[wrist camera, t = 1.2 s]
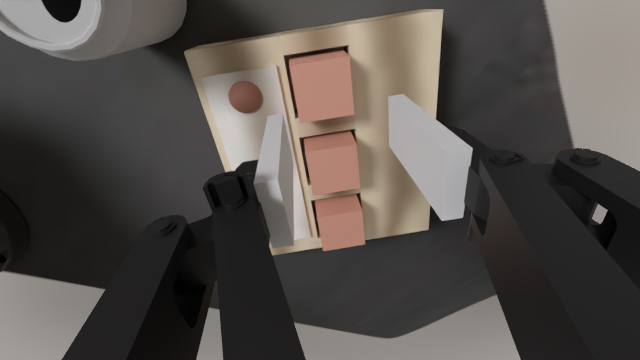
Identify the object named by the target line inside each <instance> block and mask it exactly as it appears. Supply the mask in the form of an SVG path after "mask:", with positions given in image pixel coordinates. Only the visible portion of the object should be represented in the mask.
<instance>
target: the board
mask: <svg viewBox="0 0 640 360" xmlns="http://www.w3.org/2000/svg"><path fill="white" fill-rule="evenodd" d="M442 19H443V9H421V10H414V11H408V12H402V13H396V14H390V15H384V16H377V17H371V18H365V19H359V20H353V21H347V22H341V23H334V24H328V25H322V26H316V27H310V28H304V29H297V30H291V31H285V32H279V33H273V34H267V35H261V36H254V37H248V38H242V39H236V40H230V41H224V42H217V43H211V44H205V45H199V46H196V47H193V48H191V49H189V50H186V51H184V54H185V57H186V60H187V63H188V66H189V69H190V72H191V74H192V77H193V80H194V83H195V86H196V89H197V92H198V94H199V97H200V100H201V103H202V106H203V109H204V112H205V114H206V117H207V120H208V123H209V126H210V129H211V132H212V135H213V137H214V140H215V143H216V146H217V149H218V152H219V155H220V157H221V160H222V163H223V166H224V169H225V172H229V171H235V170H236V168H237V167H238V166H239V165H240V164H241V163H242V162H246V161H252V160H258V159H259V156H260V151H261V146H262V142H263V137H264V132H265V127H266V123H267V118H268V116H271V115H277V114H283V116H284V121H285V126H286V131H287V135H288V140H289V145H290V150H291V154H292V159H293V199H294V245H293V246H287V247H281V248H275V249H273V247H272V244H271V241H270V242H269V247H270V250H271V253H272V255H278V254H284V253H290V252H296V251H302V250H308V249H314V248H320V247H322V242H321V237H320V231H319V226H318V221H317V214H316V205H315V200H318V199H324V198H330V197H336V196H342V195H348V194H354V193H356V194H357V197H358V200H359V203H360V206H361V209H362V214H363V227H364V239H365V240H369V239H375V238H381V237H387V236H394V235H400V234H406V233H412V232H418V231H424V230H429V216H430V203H429V202H428V201H427V199H426V198H425V196H424V195H423V193H422V192H421V191H420V189H419V188H418V186H417V185H416V184H415V182H414V181H413V179H412V178H411V176H410V175H409V174H408V172H407V171H406V169H405V168H404V166H403V165H402V164H401V162H400V161H399V159H398V158H397V157H396V155H395V154H394V152H393V151H392V149H391V148H390V147H389V116H388V96H394V95H400V94H404V95H405V96H406V97H408V98H409V99H410V100H412V101H413V102H414V103H415V104H417V105H418V106H419V107H421V108H422V109H423V110H424V111H426V112H427V113H428V114H430V115H431V116H432V117H433V118H435V119H436V110H437V95H438V80H439V64H440V49H441V34H442ZM341 49H342V50H343V51H345V52H346V53H347V54H348V55H349V56H350V66H351V79H352V91H353V103H354V115H349V116H343V117H337V118H331V119H324V120H318V121H312V122H306V123H300V122H299V116H298V111H297V105H296V100H295V95H294V89H293V84H292V78H291V73H290V67H289V58H292V57H298V56H304V55H311V54H317V53H323V52H329V51H335V50H341ZM344 130H350V131H351V133H352V135H353V137H354V139H355V142H356V144H357V153H358V165H359V177H360V188H358V189H352V190H345V191H339V192H333V193H327V194H321V195H315V196H313V193H312V188H311V182H310V177H309V171H308V166H307V160H306V155H305V146H304V137H307V136H313V135H319V134H325V133H332V132H338V131H344Z"/></svg>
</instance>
